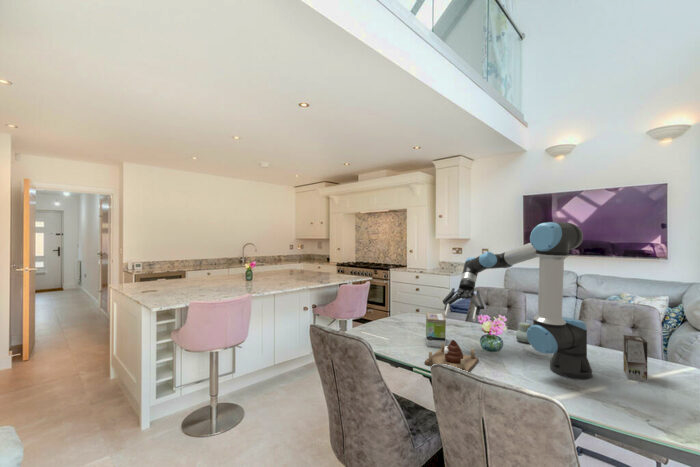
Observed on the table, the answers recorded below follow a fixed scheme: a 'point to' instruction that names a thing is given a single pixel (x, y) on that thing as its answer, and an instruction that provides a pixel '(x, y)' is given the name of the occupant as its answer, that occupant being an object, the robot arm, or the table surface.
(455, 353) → the poop emoji
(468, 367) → the stand
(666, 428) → the table surface
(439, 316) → the tea box
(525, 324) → the air freshener
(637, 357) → the coffee box
